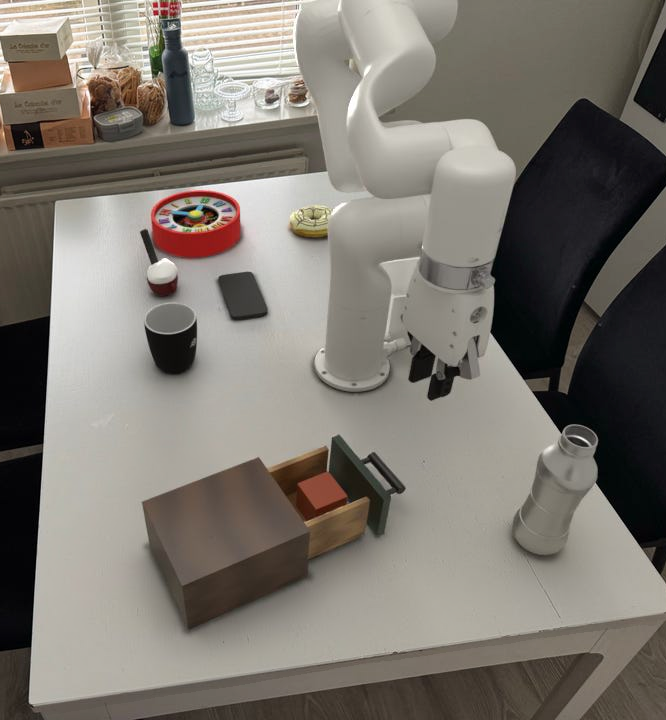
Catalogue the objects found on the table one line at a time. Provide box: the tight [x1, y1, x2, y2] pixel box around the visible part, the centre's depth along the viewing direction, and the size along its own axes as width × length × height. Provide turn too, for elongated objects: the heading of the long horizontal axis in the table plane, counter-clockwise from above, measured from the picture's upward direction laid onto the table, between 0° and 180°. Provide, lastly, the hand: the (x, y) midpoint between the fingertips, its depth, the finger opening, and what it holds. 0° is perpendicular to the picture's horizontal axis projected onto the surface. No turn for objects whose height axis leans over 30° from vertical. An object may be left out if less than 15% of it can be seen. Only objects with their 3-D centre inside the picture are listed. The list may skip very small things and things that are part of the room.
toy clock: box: [150, 189, 242, 259], centre depth 155 cm, size 20×6×20 cm
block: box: [296, 470, 348, 521], centre depth 92 cm, size 5×5×5 cm
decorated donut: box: [289, 204, 334, 238], centre depth 154 cm, size 10×11×4 cm
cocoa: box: [139, 228, 179, 297], centre depth 137 cm, size 10×6×12 cm, turn 12°
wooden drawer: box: [266, 434, 407, 560], centre depth 92 cm, size 20×12×8 cm, turn 113°
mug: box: [143, 302, 198, 375], centre depth 121 cm, size 12×9×10 cm
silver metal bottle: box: [512, 424, 599, 556], centre depth 84 cm, size 6×7×20 cm
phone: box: [217, 270, 269, 320], centre depth 137 cm, size 7×1×15 cm
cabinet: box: [141, 456, 310, 630], centre depth 88 cm, size 17×13×10 cm
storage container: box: [380, 256, 420, 347], centre depth 128 cm, size 25×11×11 cm, turn 7°
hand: (429, 386), depth 87 cm, fingers open, 3 cm apart
